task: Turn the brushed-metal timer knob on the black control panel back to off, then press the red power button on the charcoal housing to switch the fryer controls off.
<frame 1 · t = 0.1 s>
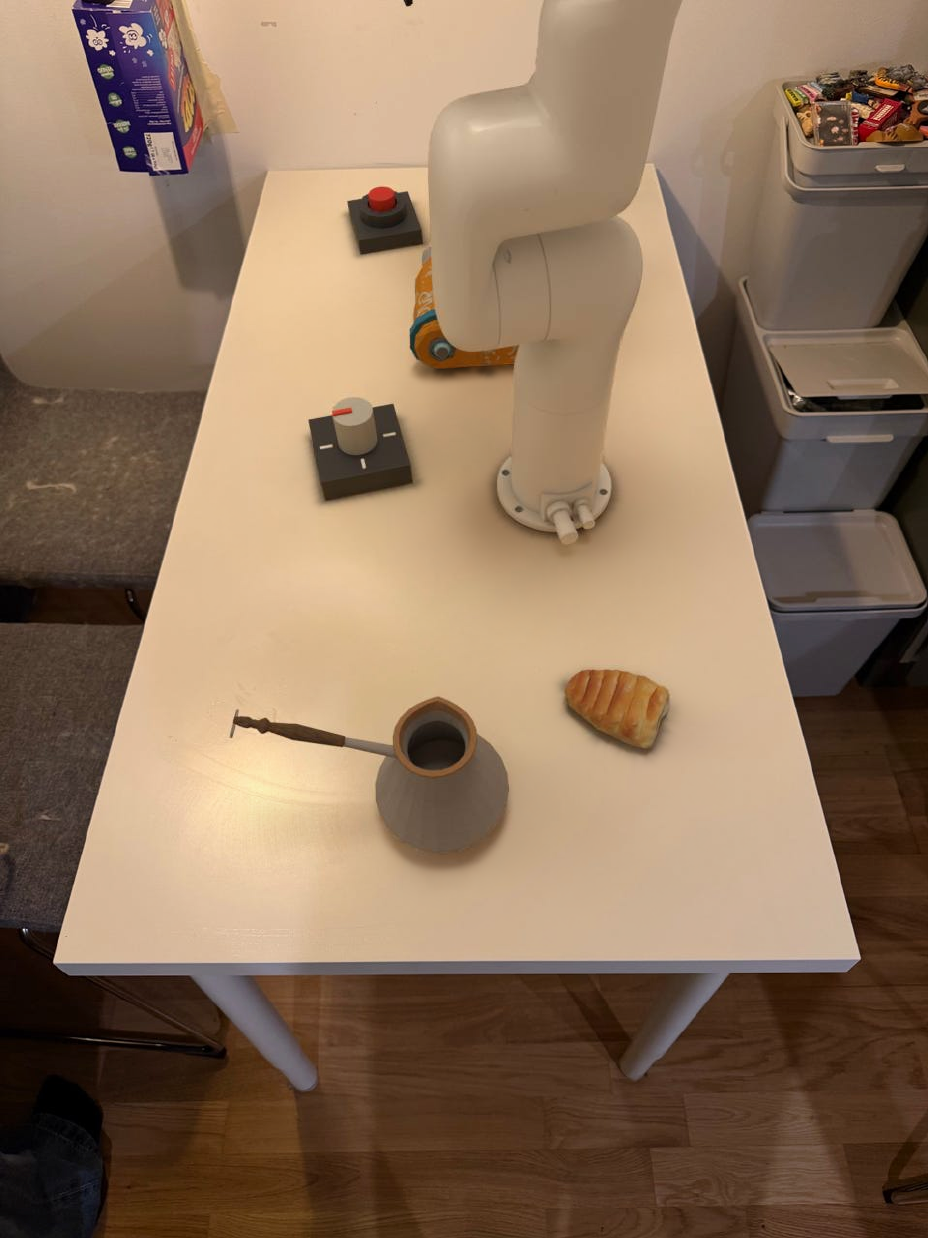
pastry: (619, 713, 78), on the table
timer knob: (355, 425, 92), point 5 cm above the table, hinge at 90.0°
coffee pot: (388, 797, 75), on the table
power button: (381, 199, 118), point 4 cm above the table, slide at 0.1 cm
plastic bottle: (542, 199, 124), on the table
device: (523, 316, 110), on the table
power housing: (385, 229, 121), on the table
timer panel: (361, 460, 97), on the table
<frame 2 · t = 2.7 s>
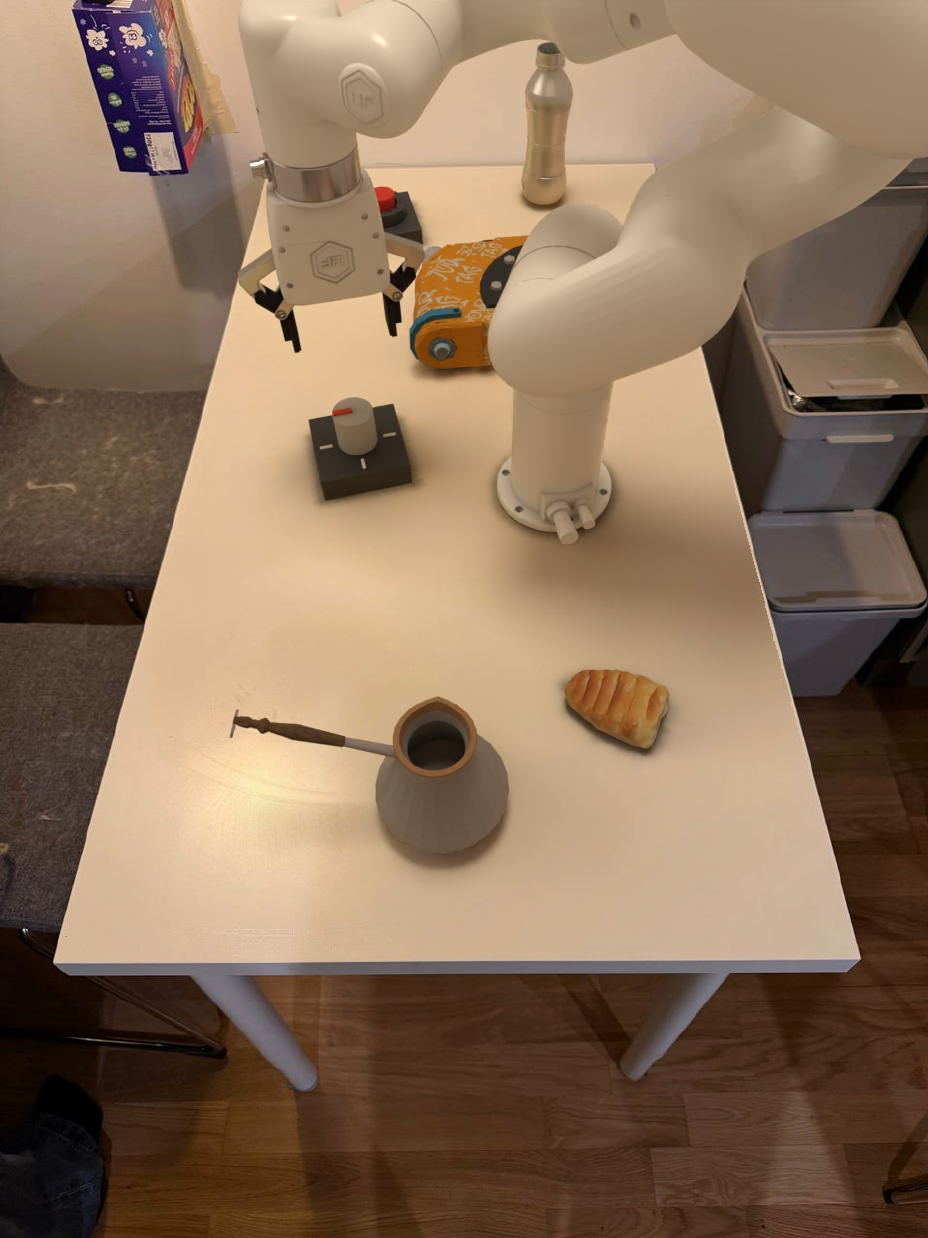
hand: (344, 335, 84), 16 cm above the table, tool pointing down, fingers open, 9 cm apart
nothing on the table moved.
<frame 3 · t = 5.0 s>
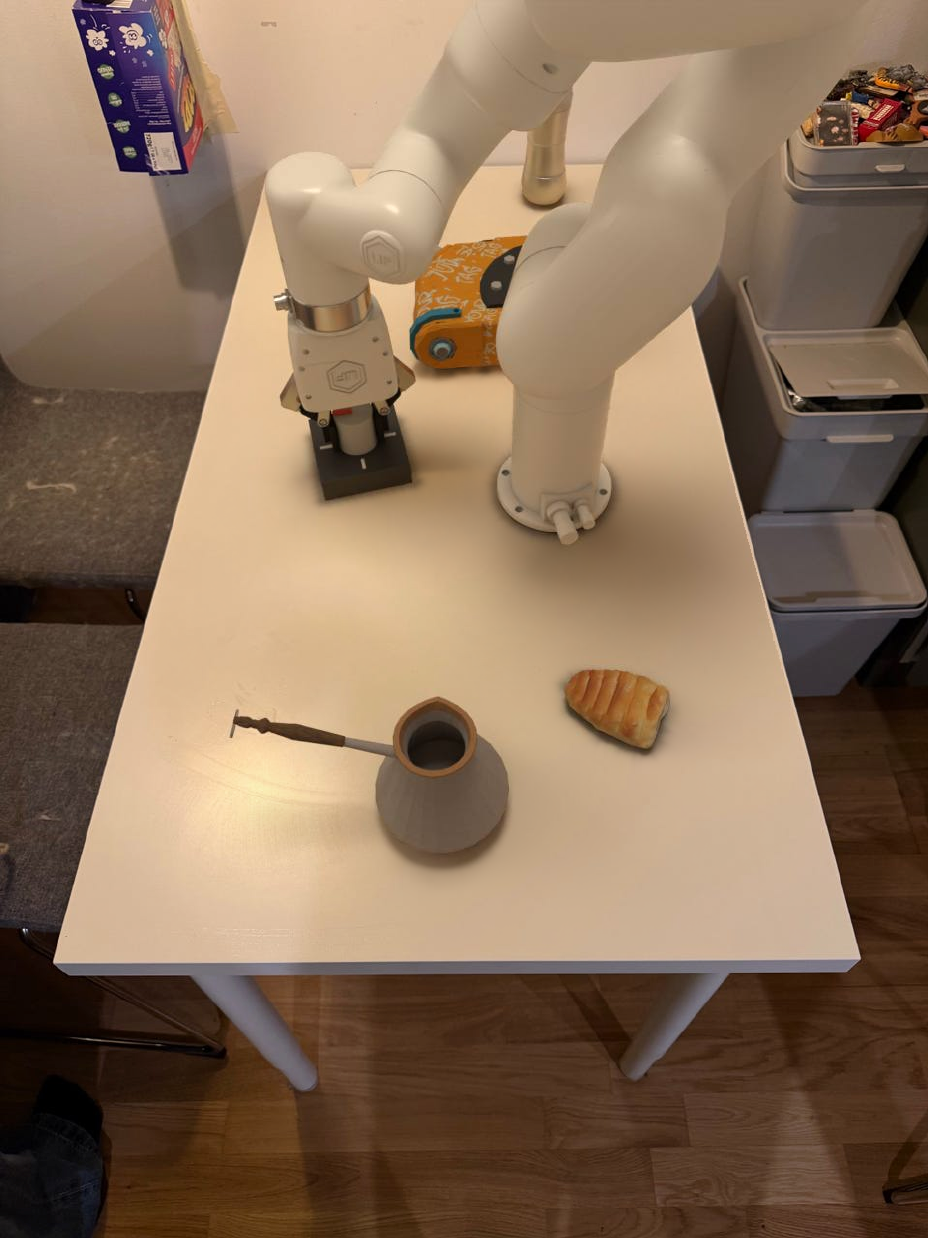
hand: (357, 437, 94), 4 cm above the table, tool pointing down, fingers closed on timer knob, 4 cm apart
timer knob: (355, 425, 92), point 5 cm above the table, hinge at 90.1°, touching gripper
everything else where it was.
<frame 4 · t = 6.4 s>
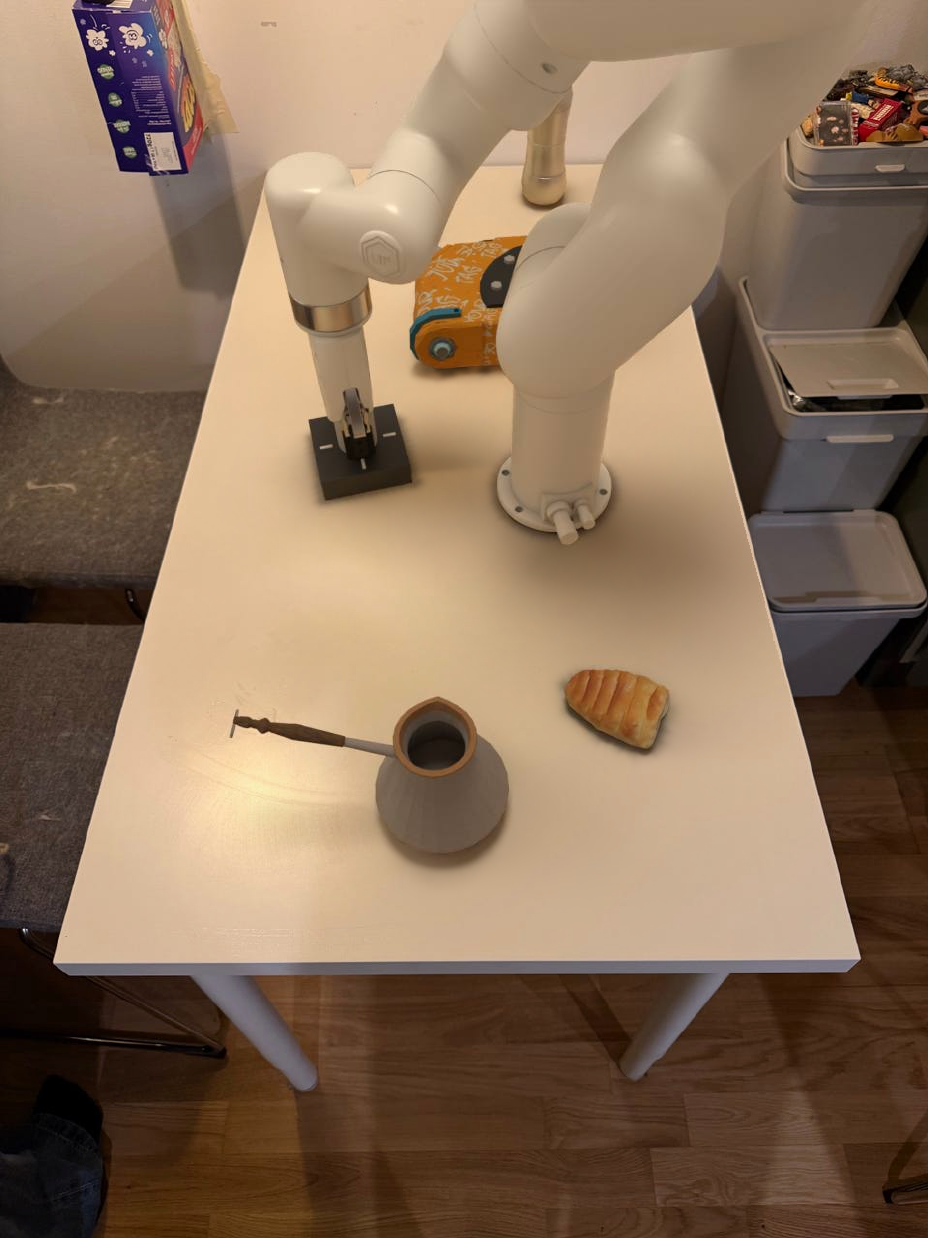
hand: (357, 437, 94), 4 cm above the table, tool pointing down, fingers closed on timer knob, 4 cm apart
timer knob: (355, 425, 92), point 5 cm above the table, hinge at 0.5°, touching gripper
everything else where it was.
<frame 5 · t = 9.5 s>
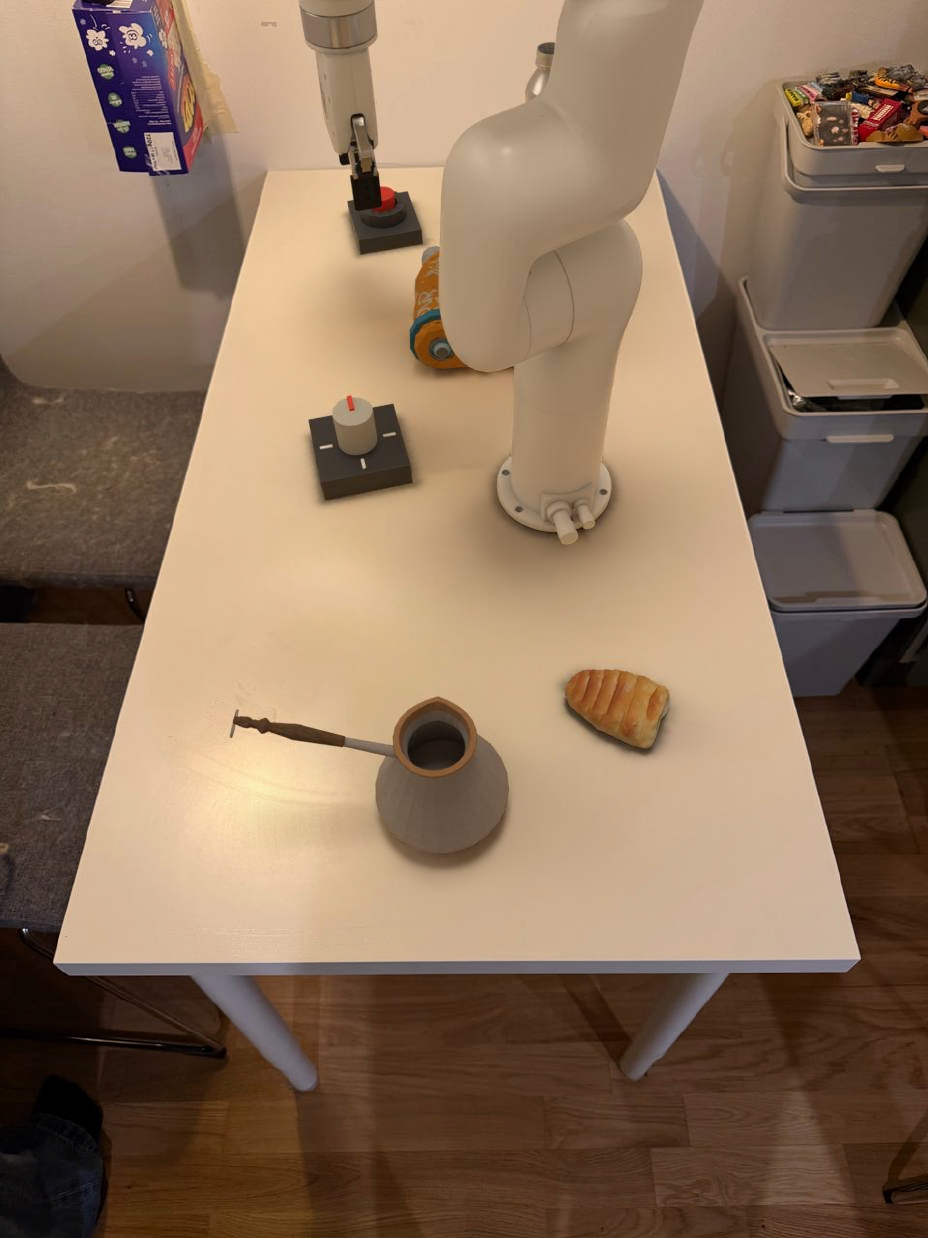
hand: (360, 184, 100), 16 cm above the table, tool pointing down, fingers open, 9 cm apart
timer knob: (355, 425, 92), point 5 cm above the table, hinge at -0.4°
everything else where it was.
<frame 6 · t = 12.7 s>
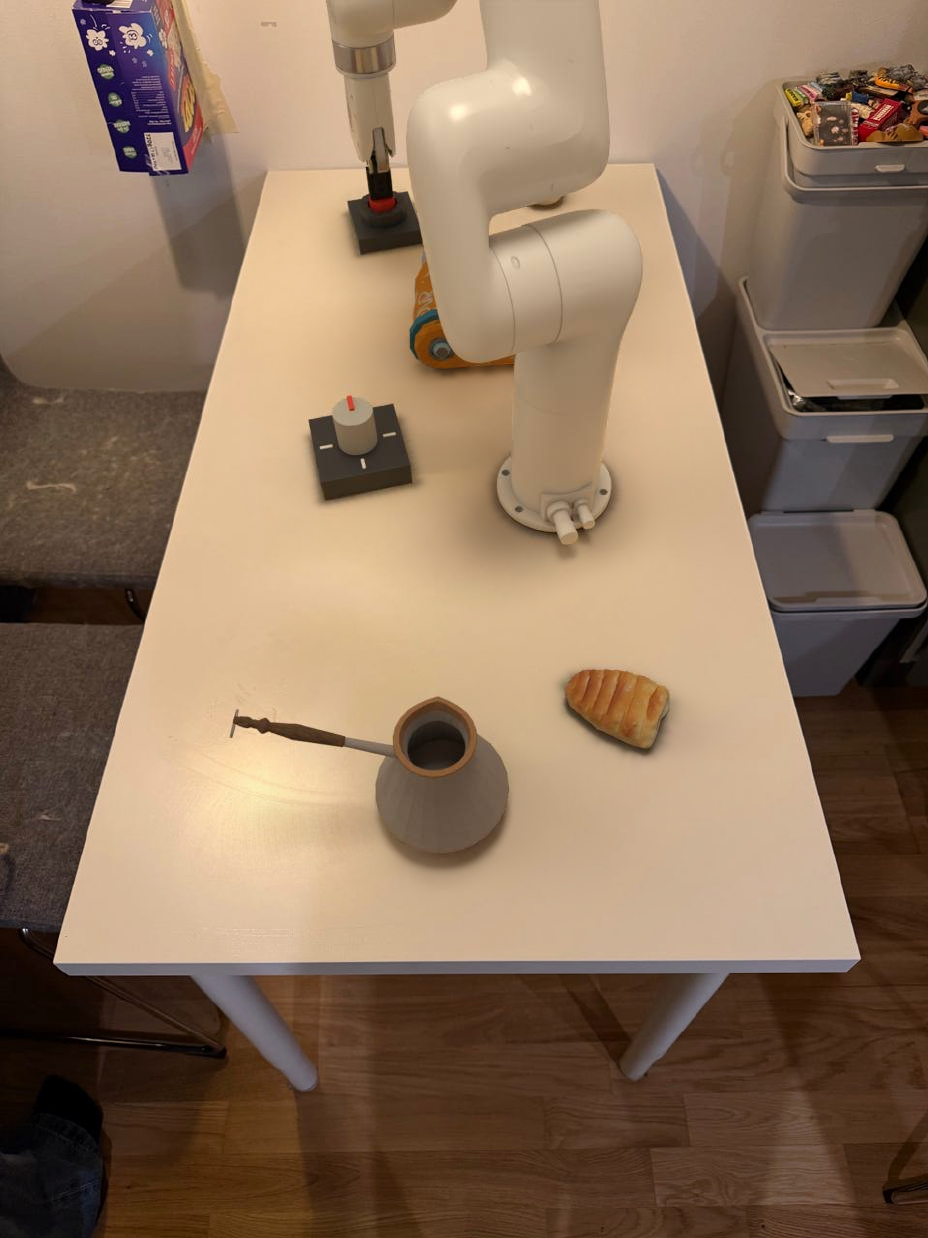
hand: (381, 195, 117), 5 cm above the table, tool pointing down, fingers closed
power button: (382, 202, 118), point 4 cm above the table, slide at -0.4 cm, touching gripper
everything else where it was.
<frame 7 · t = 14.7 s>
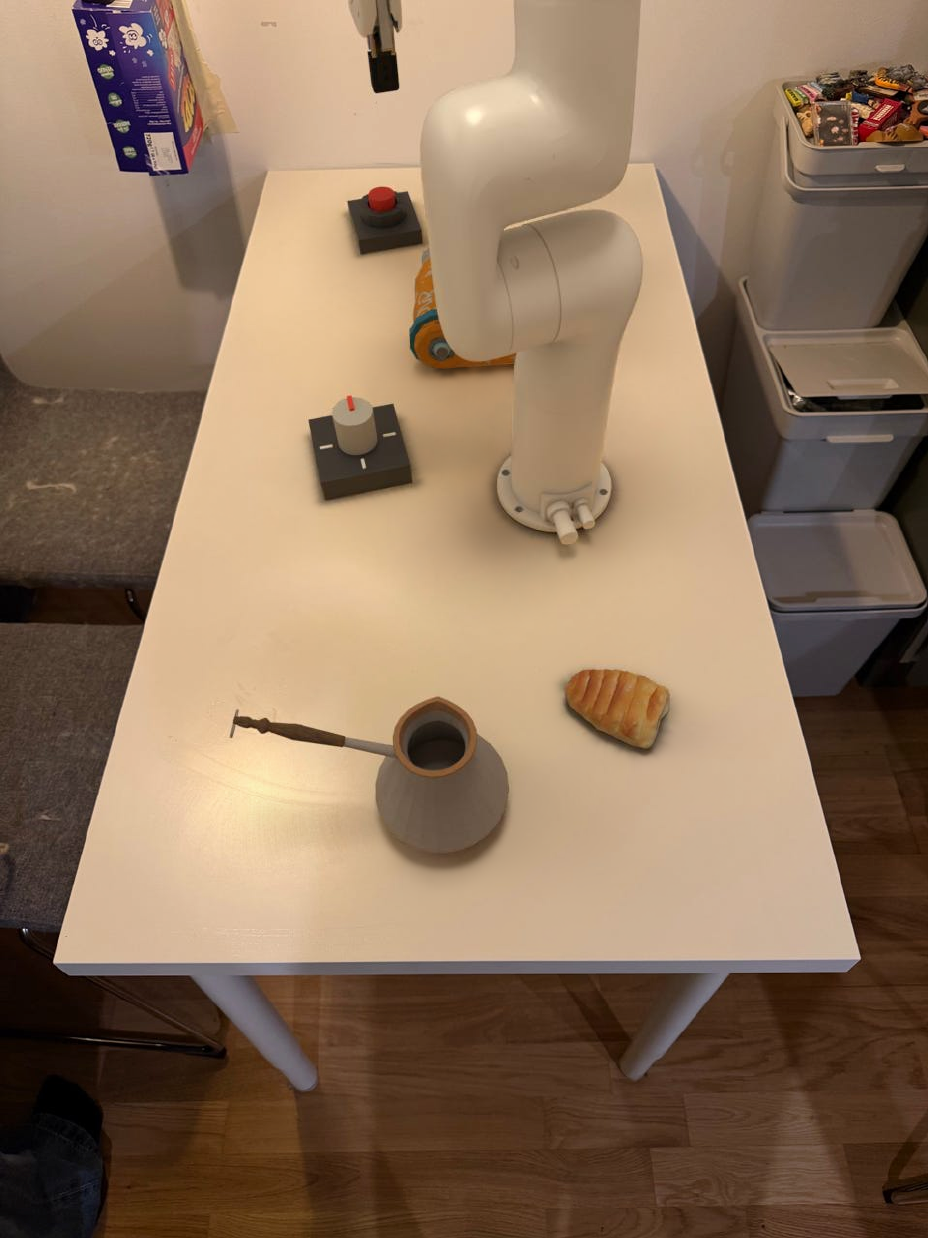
hand: (385, 88, 102), 20 cm above the table, tool pointing down, fingers closed
power button: (381, 199, 118), point 4 cm above the table, slide at 0.1 cm
everything else where it was.
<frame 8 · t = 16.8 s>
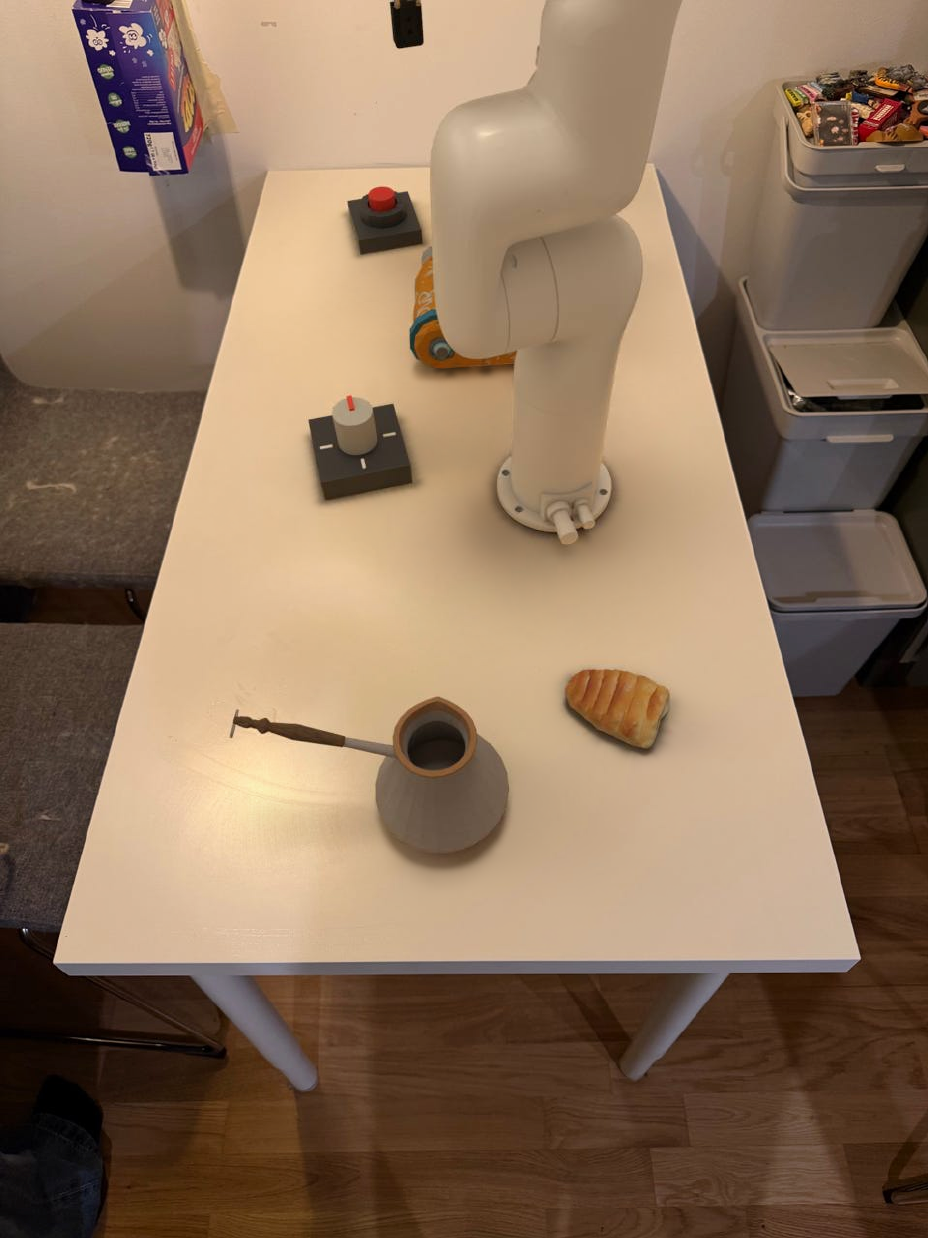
hand: (408, 43, 94), 27 cm above the table, tool pointing down, fingers closed
nothing on the table moved.
at the end: timer knob at +0° (first picture: +90°); power button pushed in 1.1 cm at the most during the clip, back to where it started at the end; power button slide at 0.1 cm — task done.
